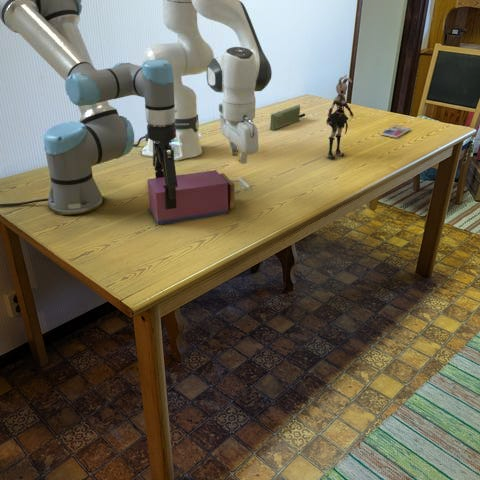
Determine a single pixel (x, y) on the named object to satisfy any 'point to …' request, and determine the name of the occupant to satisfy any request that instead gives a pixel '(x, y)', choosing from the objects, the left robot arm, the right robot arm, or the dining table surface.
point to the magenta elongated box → (189, 197)
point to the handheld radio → (285, 117)
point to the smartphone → (395, 131)
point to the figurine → (338, 116)
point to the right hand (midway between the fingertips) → (238, 159)
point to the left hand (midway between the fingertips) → (166, 200)
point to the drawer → (231, 189)
